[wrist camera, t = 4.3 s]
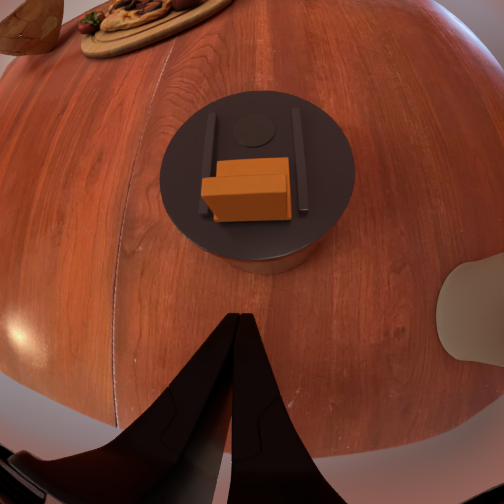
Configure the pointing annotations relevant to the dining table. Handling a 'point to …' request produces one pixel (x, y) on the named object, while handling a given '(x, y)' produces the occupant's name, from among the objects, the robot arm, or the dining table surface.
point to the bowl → (31, 28)
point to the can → (473, 311)
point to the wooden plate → (140, 24)
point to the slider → (249, 190)
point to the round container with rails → (252, 147)
